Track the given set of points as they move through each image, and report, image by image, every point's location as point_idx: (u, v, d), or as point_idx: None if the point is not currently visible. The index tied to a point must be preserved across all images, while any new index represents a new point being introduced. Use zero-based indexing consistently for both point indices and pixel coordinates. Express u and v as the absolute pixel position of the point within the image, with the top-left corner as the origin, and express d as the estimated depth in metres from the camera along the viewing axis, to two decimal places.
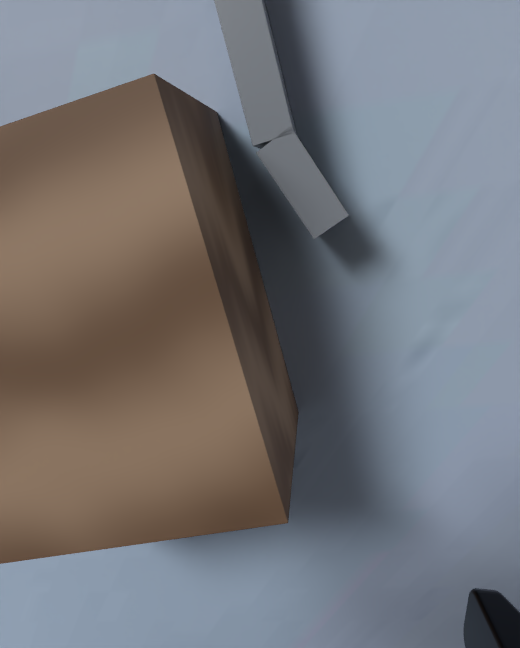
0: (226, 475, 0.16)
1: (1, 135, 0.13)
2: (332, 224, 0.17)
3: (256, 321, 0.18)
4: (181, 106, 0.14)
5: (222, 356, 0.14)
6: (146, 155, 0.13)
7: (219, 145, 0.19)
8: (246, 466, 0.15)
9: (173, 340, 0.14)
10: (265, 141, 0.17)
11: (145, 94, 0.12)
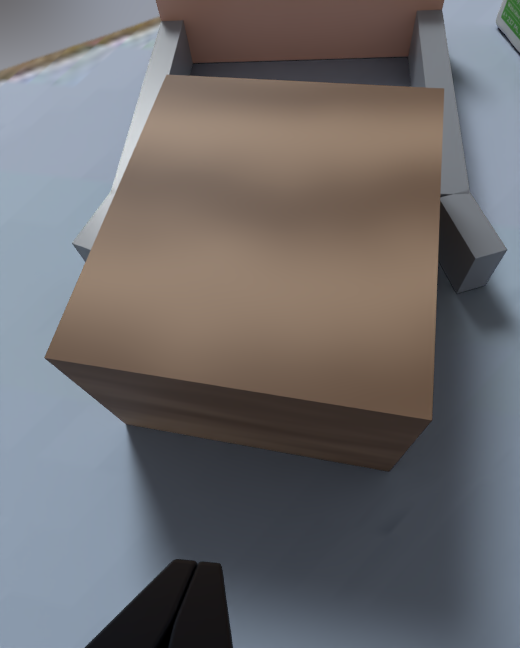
0: (382, 343, 0.14)
1: (329, 85, 0.20)
2: (492, 252, 0.21)
3: None
4: None
5: (424, 241, 0.16)
6: (420, 117, 0.19)
7: None
8: (407, 341, 0.14)
9: (385, 219, 0.17)
10: (447, 194, 0.23)
11: (434, 94, 0.19)
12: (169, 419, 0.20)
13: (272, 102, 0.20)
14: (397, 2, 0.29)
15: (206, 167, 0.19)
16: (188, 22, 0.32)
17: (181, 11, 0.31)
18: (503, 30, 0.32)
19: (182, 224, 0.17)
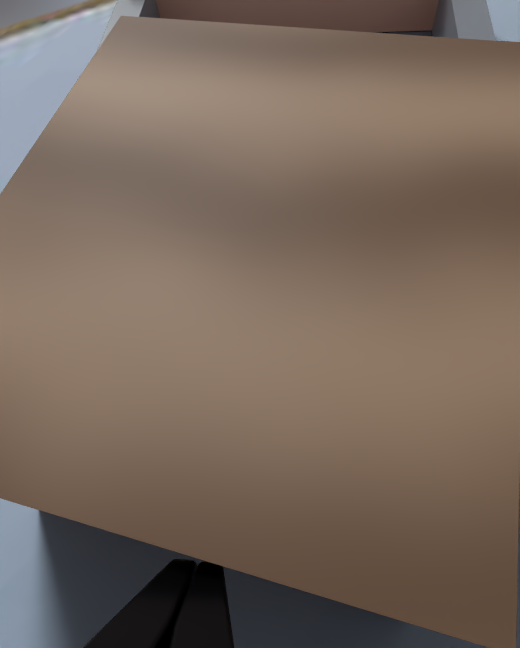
0: (418, 470, 0.08)
1: (351, 35, 0.13)
2: None
3: None
4: None
5: (497, 281, 0.09)
6: (491, 83, 0.12)
7: None
8: (466, 470, 0.08)
9: (431, 238, 0.10)
10: None
11: (512, 50, 0.13)
12: None
13: (265, 56, 0.13)
14: None
15: (153, 145, 0.12)
16: None
17: None
18: None
19: (102, 228, 0.11)
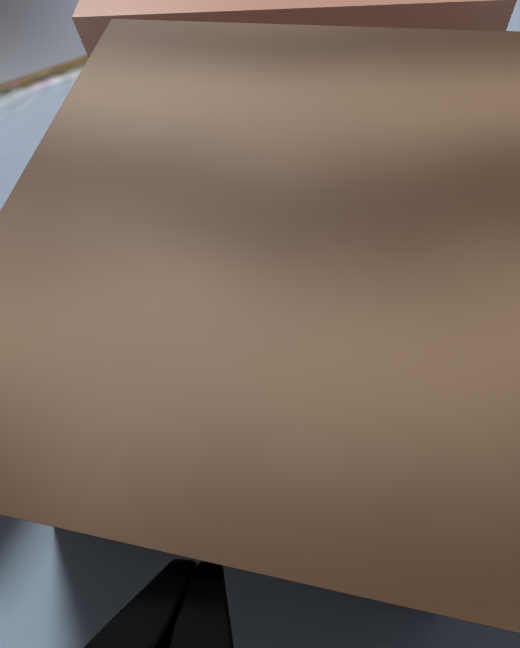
0: (463, 465, 0.08)
1: (350, 30, 0.13)
2: None
3: None
4: None
5: None
6: (494, 73, 0.12)
7: None
8: (511, 462, 0.08)
9: (451, 231, 0.10)
10: None
11: (512, 40, 0.13)
12: None
13: (265, 54, 0.13)
14: None
15: (159, 148, 0.12)
16: None
17: None
18: None
19: (113, 237, 0.11)
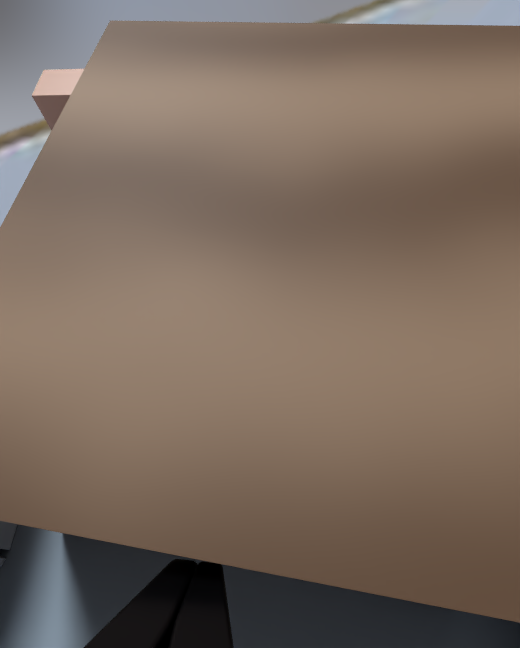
0: (486, 462, 0.08)
1: (351, 27, 0.13)
2: None
3: None
4: None
5: None
6: (497, 68, 0.12)
7: None
8: None
9: (463, 226, 0.10)
10: None
11: (513, 34, 0.13)
12: None
13: (266, 53, 0.13)
14: None
15: (163, 150, 0.12)
16: None
17: None
18: None
19: (123, 240, 0.10)
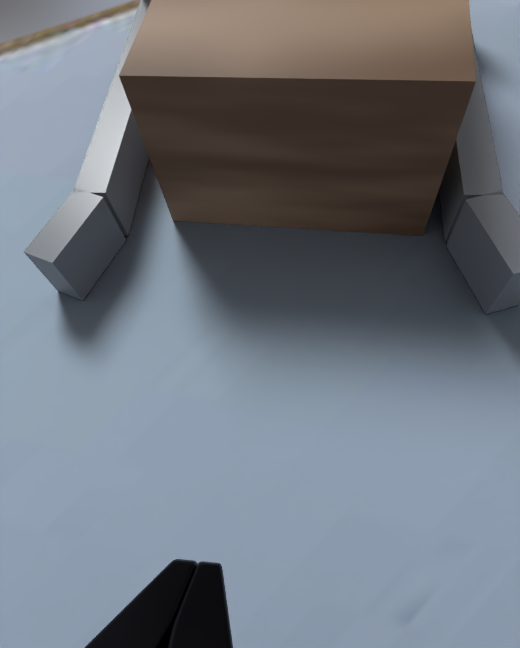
0: (424, 39, 0.16)
1: None
2: None
3: None
4: None
5: None
6: None
7: None
8: (447, 36, 0.16)
9: None
10: (475, 195, 0.19)
11: None
12: (220, 188, 0.21)
13: None
14: None
15: None
16: None
17: None
18: None
19: None
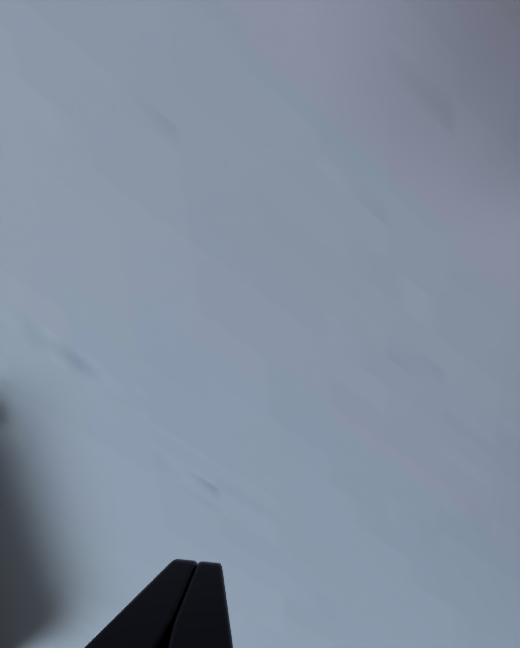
0: None
1: None
2: None
3: None
4: None
5: None
6: None
7: None
8: None
9: None
10: None
11: None
12: None
13: None
14: None
15: None
16: None
17: None
18: None
19: None
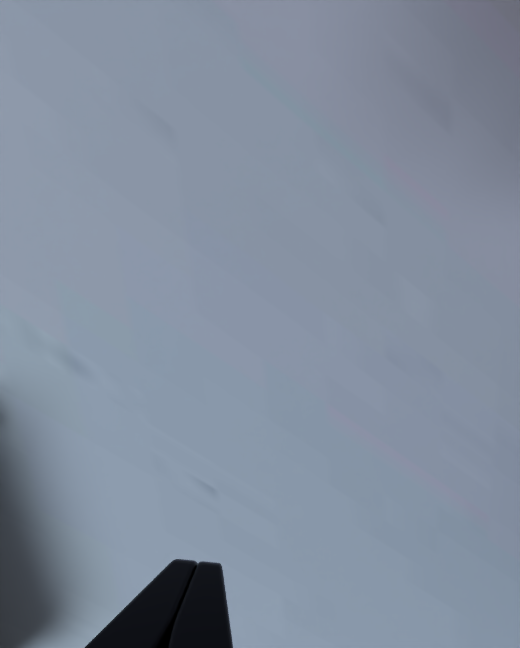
0: None
1: None
2: None
3: None
4: None
5: None
6: None
7: None
8: None
9: None
10: None
11: None
12: None
13: None
14: None
15: None
16: None
17: None
18: None
19: None
